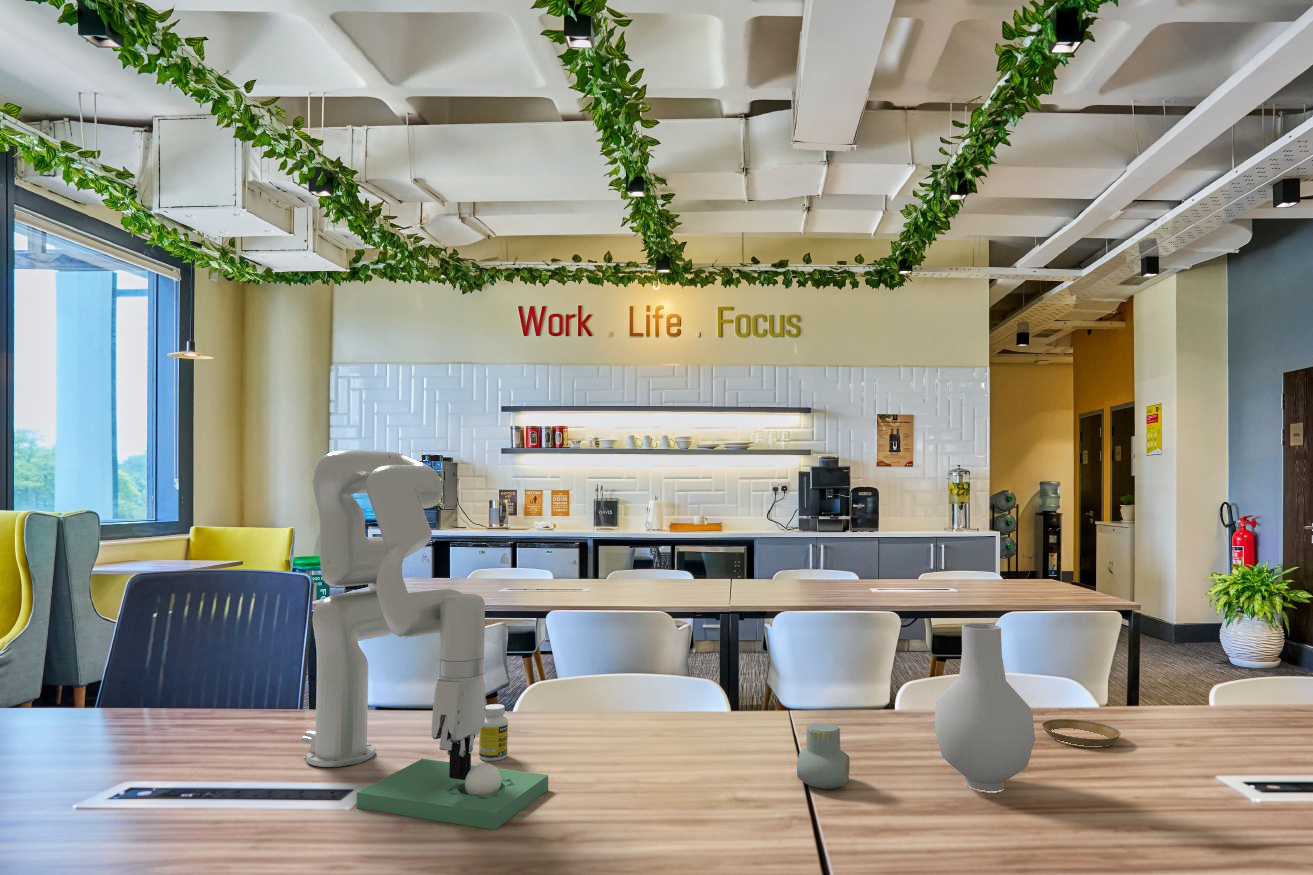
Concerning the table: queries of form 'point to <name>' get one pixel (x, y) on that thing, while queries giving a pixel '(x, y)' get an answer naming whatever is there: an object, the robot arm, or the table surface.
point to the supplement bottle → (494, 734)
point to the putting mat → (451, 795)
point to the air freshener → (823, 758)
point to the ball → (483, 780)
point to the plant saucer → (1082, 725)
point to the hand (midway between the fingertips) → (459, 777)
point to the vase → (984, 715)
